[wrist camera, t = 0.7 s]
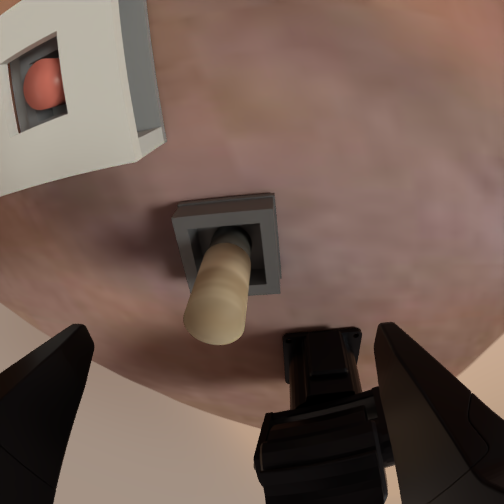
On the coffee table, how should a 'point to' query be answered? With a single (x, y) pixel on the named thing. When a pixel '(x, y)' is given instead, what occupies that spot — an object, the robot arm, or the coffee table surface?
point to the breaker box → (77, 90)
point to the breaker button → (44, 84)
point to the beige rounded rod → (221, 288)
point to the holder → (225, 214)
